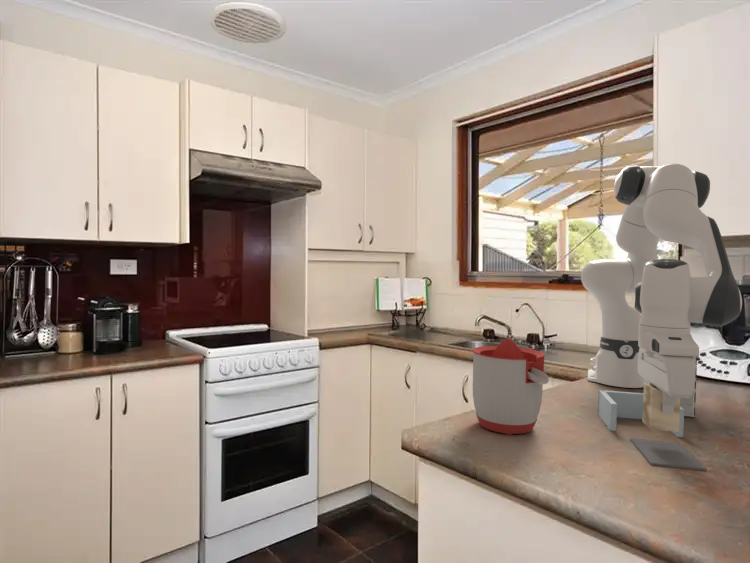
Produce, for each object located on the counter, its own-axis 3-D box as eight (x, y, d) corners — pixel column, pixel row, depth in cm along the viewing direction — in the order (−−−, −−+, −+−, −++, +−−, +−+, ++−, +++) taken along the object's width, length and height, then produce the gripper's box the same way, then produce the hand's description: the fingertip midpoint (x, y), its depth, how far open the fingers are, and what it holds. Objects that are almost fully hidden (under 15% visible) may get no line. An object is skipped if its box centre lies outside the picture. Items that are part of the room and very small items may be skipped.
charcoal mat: (630, 439, 99) (630, 437, 99) (678, 444, 97) (678, 442, 97) (650, 464, 86) (650, 462, 86) (706, 470, 84) (706, 468, 84)
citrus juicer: (519, 447, 94) (522, 347, 93) (455, 423, 108) (458, 335, 107) (564, 432, 103) (567, 341, 102) (500, 411, 117) (502, 331, 116)
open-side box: (597, 414, 116) (598, 389, 116) (662, 419, 113) (663, 394, 113) (610, 430, 105) (611, 403, 104) (683, 437, 101) (684, 409, 101)
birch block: (642, 421, 98) (643, 383, 98) (669, 423, 97) (670, 385, 97) (650, 429, 93) (652, 389, 93) (678, 432, 92) (680, 391, 92)
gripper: (630, 332, 105) (628, 394, 106) (664, 347, 85) (661, 422, 86) (662, 334, 104) (660, 396, 104) (703, 349, 84) (700, 426, 84)
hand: (661, 408), depth 95 cm, fingers closed on birch block, 5 cm apart
